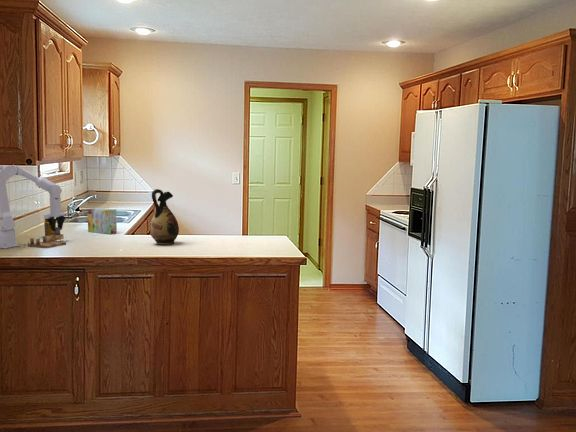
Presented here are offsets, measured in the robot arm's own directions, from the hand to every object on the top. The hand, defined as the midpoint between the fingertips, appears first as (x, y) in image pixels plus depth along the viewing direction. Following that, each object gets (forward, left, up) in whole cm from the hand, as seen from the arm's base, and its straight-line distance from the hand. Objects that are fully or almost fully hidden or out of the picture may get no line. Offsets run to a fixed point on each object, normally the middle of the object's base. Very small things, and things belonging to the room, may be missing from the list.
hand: (56, 230), depth 319 cm
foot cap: (0, 0, -3) cm, 3 cm away
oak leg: (-3, 0, -5) cm, 6 cm away
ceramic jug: (+19, -59, -7) cm, 62 cm away
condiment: (+10, +18, -7) cm, 22 cm away
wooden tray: (-11, -5, -7) cm, 14 cm away
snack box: (+38, +3, -7) cm, 38 cm away
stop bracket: (-1, +4, -7) cm, 8 cm away
